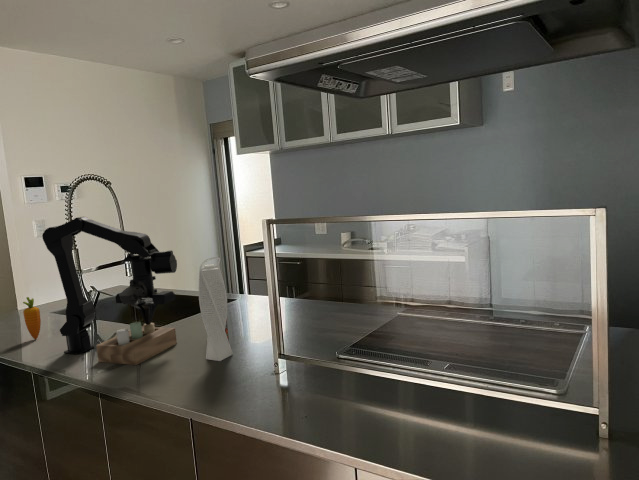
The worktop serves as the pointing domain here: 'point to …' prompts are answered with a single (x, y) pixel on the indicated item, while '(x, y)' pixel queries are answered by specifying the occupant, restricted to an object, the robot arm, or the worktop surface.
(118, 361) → the wooden plug holder
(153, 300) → the robot arm
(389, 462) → the worktop surface
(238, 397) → the worktop surface
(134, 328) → the plug green
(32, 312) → the carrot
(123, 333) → the plug grey
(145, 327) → the plug beech
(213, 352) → the skyscraper
